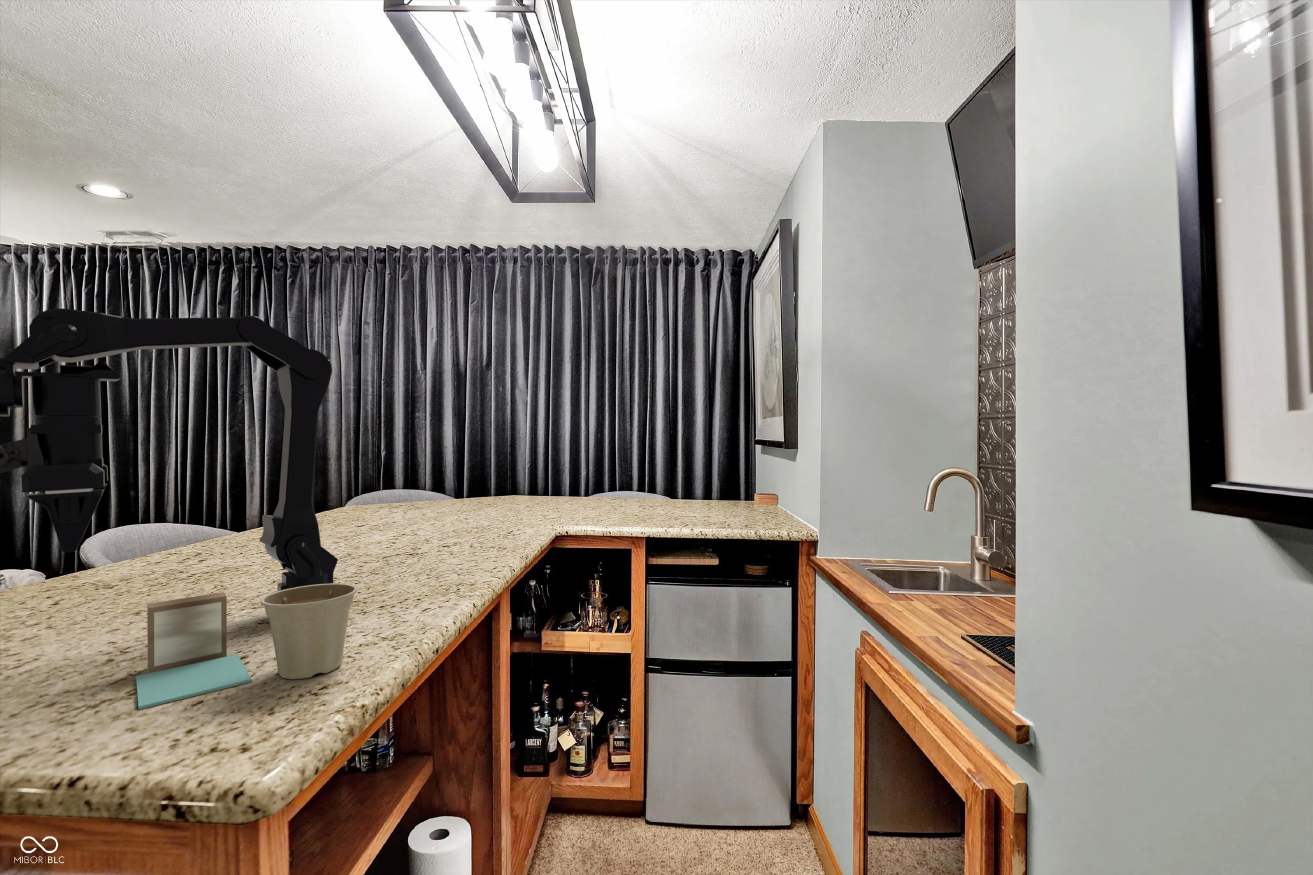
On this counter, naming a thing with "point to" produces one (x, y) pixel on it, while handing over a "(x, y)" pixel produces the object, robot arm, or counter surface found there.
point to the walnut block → (186, 631)
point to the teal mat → (190, 680)
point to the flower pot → (309, 627)
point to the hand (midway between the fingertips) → (72, 546)
